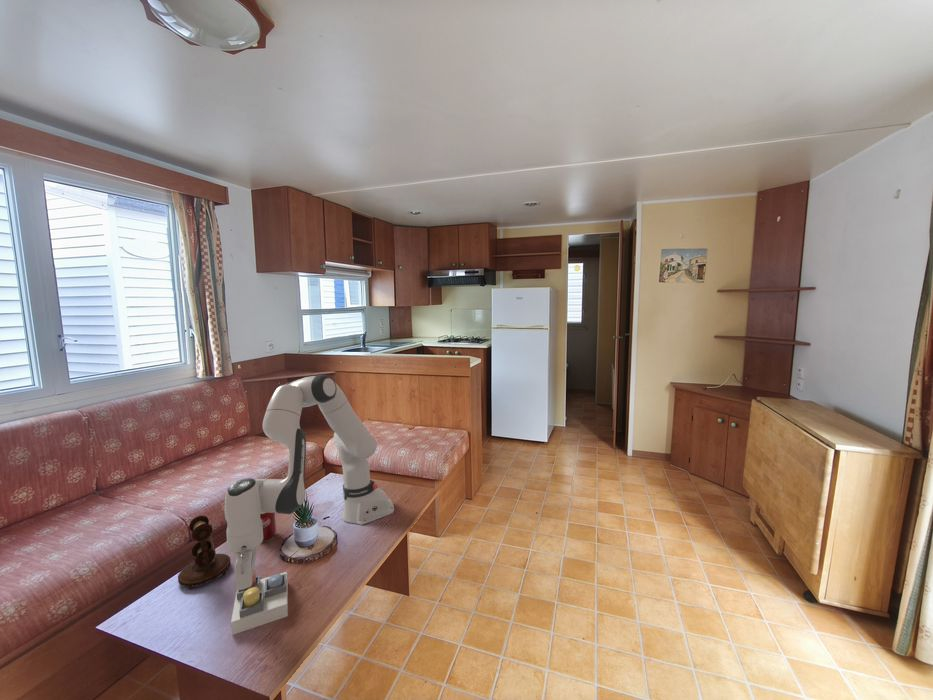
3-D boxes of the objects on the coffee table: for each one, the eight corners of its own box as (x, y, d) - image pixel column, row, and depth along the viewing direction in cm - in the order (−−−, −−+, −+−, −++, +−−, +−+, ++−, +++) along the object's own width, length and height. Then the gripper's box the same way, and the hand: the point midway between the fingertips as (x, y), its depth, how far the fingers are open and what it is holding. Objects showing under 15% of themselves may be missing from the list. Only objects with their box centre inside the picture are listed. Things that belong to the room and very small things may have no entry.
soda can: (268, 544, 143) (265, 515, 142) (251, 541, 145) (249, 513, 143) (280, 532, 150) (278, 505, 149) (265, 530, 152) (263, 503, 150)
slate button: (283, 581, 117) (282, 572, 117) (283, 589, 114) (282, 580, 113) (269, 585, 116) (268, 576, 115) (268, 594, 112) (267, 585, 112)
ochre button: (260, 594, 110) (259, 585, 110) (259, 604, 107) (258, 594, 106) (244, 599, 108) (244, 590, 108) (243, 609, 105) (242, 599, 104)
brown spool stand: (235, 574, 127) (229, 520, 124) (181, 598, 117) (174, 539, 114) (226, 554, 137) (221, 503, 135) (176, 574, 127) (169, 520, 125)
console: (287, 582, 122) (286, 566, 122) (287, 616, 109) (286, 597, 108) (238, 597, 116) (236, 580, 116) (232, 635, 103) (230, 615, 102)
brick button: (256, 578, 117) (255, 570, 116) (255, 587, 113) (254, 578, 113) (241, 583, 115) (241, 574, 115) (240, 591, 111) (239, 582, 111)
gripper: (255, 555, 97) (258, 604, 99) (260, 517, 116) (263, 558, 117) (226, 562, 95) (230, 612, 96) (237, 522, 113) (240, 564, 114)
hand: (248, 582), depth 107 cm, fingers closed
